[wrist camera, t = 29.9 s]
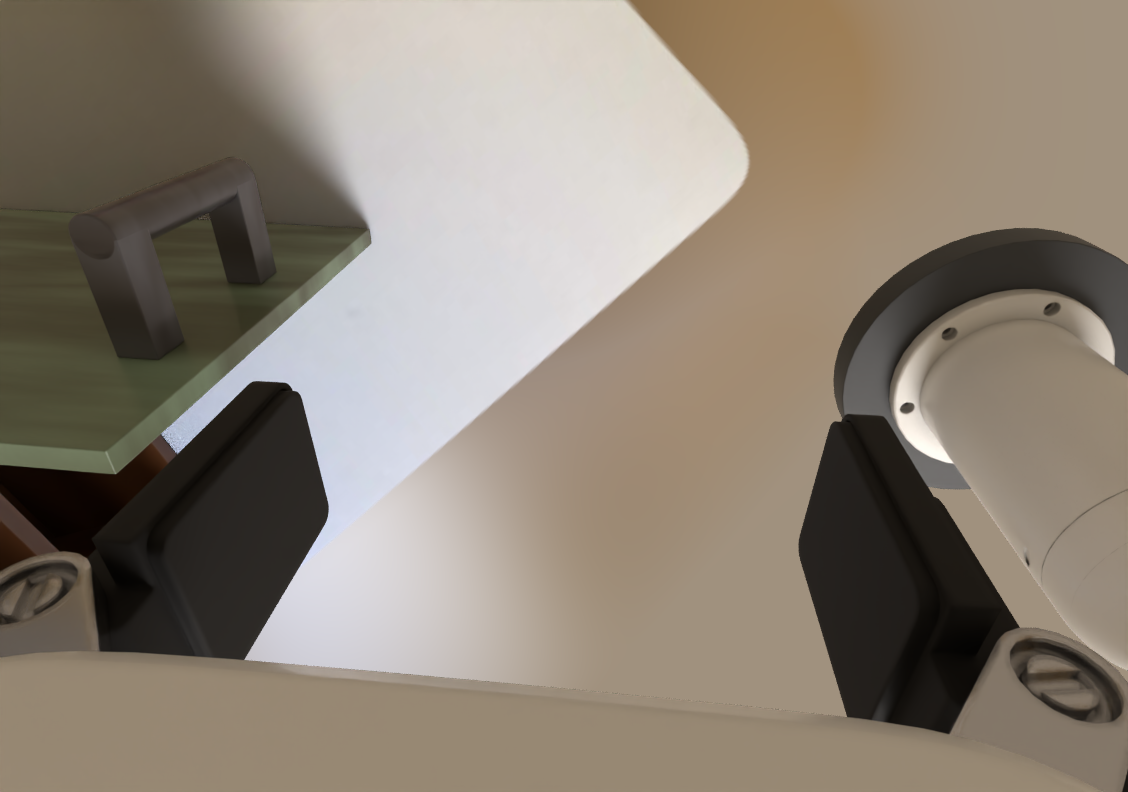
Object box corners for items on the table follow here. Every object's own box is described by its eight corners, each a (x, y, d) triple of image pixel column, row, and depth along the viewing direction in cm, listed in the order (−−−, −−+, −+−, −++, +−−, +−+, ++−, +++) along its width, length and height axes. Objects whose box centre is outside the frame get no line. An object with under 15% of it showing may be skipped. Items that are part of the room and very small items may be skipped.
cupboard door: (-54, 113, 39) (-789, 228, 19) (356, 131, 38) (28, 278, 17) (-4, 222, 43) (-577, 417, 23) (371, 243, 41) (116, 475, 21)
